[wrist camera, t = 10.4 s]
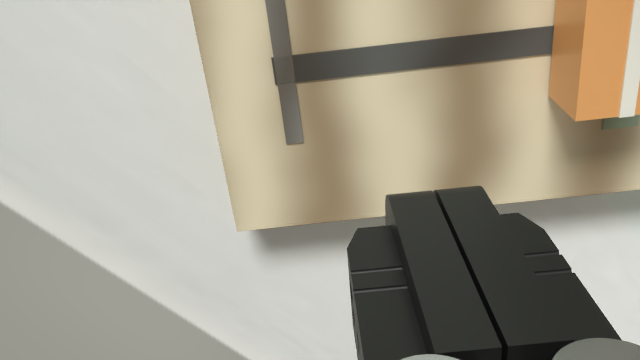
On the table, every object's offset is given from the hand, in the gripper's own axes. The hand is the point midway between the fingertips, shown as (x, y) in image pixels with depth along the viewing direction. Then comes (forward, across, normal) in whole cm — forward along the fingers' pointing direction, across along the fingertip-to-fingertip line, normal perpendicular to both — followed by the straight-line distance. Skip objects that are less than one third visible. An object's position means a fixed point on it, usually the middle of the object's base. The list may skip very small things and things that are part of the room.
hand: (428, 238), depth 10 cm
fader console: (+20, -5, +2) cm, 21 cm away
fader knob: (+17, -11, +2) cm, 20 cm away
